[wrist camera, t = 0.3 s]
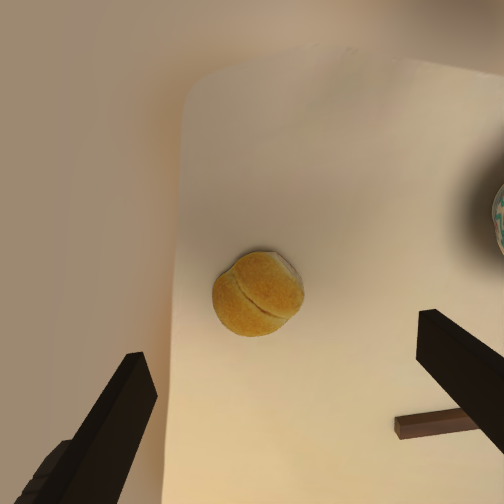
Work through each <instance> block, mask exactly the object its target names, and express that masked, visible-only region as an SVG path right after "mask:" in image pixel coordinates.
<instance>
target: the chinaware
mask: <svg viewBox="0 0 504 504" xmlns="http://www.w3.org/2000/svg"><path fill="white" fill-rule="evenodd" d="M492 219H493V223H494V225H495V234H496V238H497V242H498V245H499V247H500V249H501V251H502V253H503V255H504V184H503V185H502V187H501V188H500V189H499V191H498V193H497V194H496V196H495V199H494V202H493V205H492Z"/></svg>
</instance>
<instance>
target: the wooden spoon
mask: <svg viewBox="0 0 504 504" xmlns="http://www.w3.org/2000/svg"><path fill="white" fill-rule="evenodd" d="M475 429H480V428H479V427H478V426H477V425H476V424H475V423H474V422H473V420H472V419H471V418H470V417H469V416H468V415H467V414H466V413H465V412H464V411H463V410H462V409H461V408H460V409H453V410H445V411H438V412H431V413H424V414H416V415H409V416H402V417H395V432H396V434H397V436H398V437H399V439H400V440H402V439H410V438H417V437H424V436H432V435H439V434H446V433H453V432H461V431H468V430H475Z"/></svg>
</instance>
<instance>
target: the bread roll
mask: <svg viewBox="0 0 504 504" xmlns="http://www.w3.org/2000/svg"><path fill="white" fill-rule="evenodd" d="M212 299H213V307H214V309H215V312H216V314H217V316H218V318H219V319H220V321H221V322H222V324H223V325H224V326H225V327H226V328H227V329H229V330H230V331H232V332H234V333H236V334H238V335H241V336H246V337H255V336H263V335H267V334H270V333H272V332H274V331H276V330H277V329H279V328H280V327H281V326H282V325H284V324H285V323H286V322H287V321H288V320H289V319H290V318H291V317H292V316H294V315H295V314H296V313H297V312H298V311H299V309H300V307H301V305H302V303H303V300H304V288H303V285H302V280H301V277H300V276H299V275H298V274H297V272H296V271H295V270H294V269H293V268H292V266H291V265H290V264H289V263H287V261H286V260H285V259H283V258H282V257H281V256H280V255H279V254H278V253H276V252H252V253H250V254H248V255H245V256H243V257H242V258H240V259H239V260H238V261H237V262H236V263H235V264H234V266H233V267H232V268H231V269H230V270H229V271H227V272H226V273H224V274H222V275H221V276H220V277H219V278H218V279H217V280H216V282H215V284H214V286H213V292H212Z"/></svg>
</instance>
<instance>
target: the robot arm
mask: <svg viewBox="0 0 504 504" xmlns="http://www.w3.org/2000/svg"><path fill="white" fill-rule="evenodd" d="M416 360H417V361H418V362H419V363H420V364H421V365H422V366H423V367H424V368H425V370H426V371H427V372H428V373H429V374H430V375H431V376H432V377H433V378H434V379H435V380H436V381H437V383H438V384H439V385H440V386H441V387H442V388H443V389H444V390H445V391H446V392H447V393H448V394H449V396H450V397H451V398H452V399H453V400H454V401H455V402H456V403H457V404H458V405H459V406H460V407H461V409H462V410H463V411H464V412H465V413H466V414H467V415H468V416H469V417H470V418H471V419H472V420H473V422H474V423H475V424H476V425H477V426H478V427H479V428H480V429H481V430H482V431H483V432H484V433H485V435H486V436H487V437H488V438H489V439H490V440H491V441H492V442H493V443H494V444H495V445H496V446H497V448H498V449H499V450H500V451H501V452H502V453H503V454H504V357H502V356H501V355H500V354H498V353H497V352H495V351H494V350H493V349H491V348H490V347H488V346H487V345H486V344H484V343H483V342H481V341H480V340H478V339H477V338H476V337H474V336H473V335H471V334H470V333H469V332H467V331H466V330H464V329H463V328H462V327H460V326H459V325H457V324H456V323H455V322H453V321H452V320H450V319H449V318H448V317H446V316H445V315H443V314H442V313H441V312H439V311H438V310H436V309H431V310H424V311H419V319H418V335H417V350H416ZM157 397H158V395H157V392H156V389H155V386H154V383H153V381H152V378H151V375H150V372H149V369H148V366H147V363H146V360H145V357H144V354H143V352H136V353H130V354H126V356H125V357H124V359H123V361H122V362H121V364H120V365H119V367H118V369H117V370H116V372H115V373H114V375H113V376H112V378H111V379H110V381H109V382H108V384H107V386H106V387H105V389H104V390H103V392H102V394H101V395H100V397H99V398H98V400H97V401H96V403H95V404H94V406H93V407H92V409H91V411H90V412H89V414H88V416H87V417H86V418H85V420H84V422H83V423H82V425H81V426H80V428H79V429H78V431H77V433H76V434H75V436H74V437H73V439H72V440H65V441H62V442H61V443H60V444H59V445H58V446H57V447H56V448H55V449H54V450H53V451H52V452H51V453H50V454H49V455H48V456H47V457H46V458H45V459H44V461H43V462H42V464H41V465H40V467H39V468H38V469H37V471H36V472H35V474H34V475H33V479H32V480H30V481H29V482H28V484H27V485H26V487H25V488H24V490H23V491H22V494H21V496H19V497H18V498H17V500H16V501H15V503H14V504H117V502H118V499H119V497H120V494H121V491H122V489H123V486H124V484H125V481H126V478H127V475H128V473H129V470H130V468H131V465H132V462H133V460H134V457H135V454H136V452H137V449H138V447H139V444H140V441H141V439H142V436H143V434H144V431H145V428H146V426H147V423H148V421H149V418H150V415H151V413H152V410H153V407H154V405H155V402H156V399H157Z"/></svg>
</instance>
